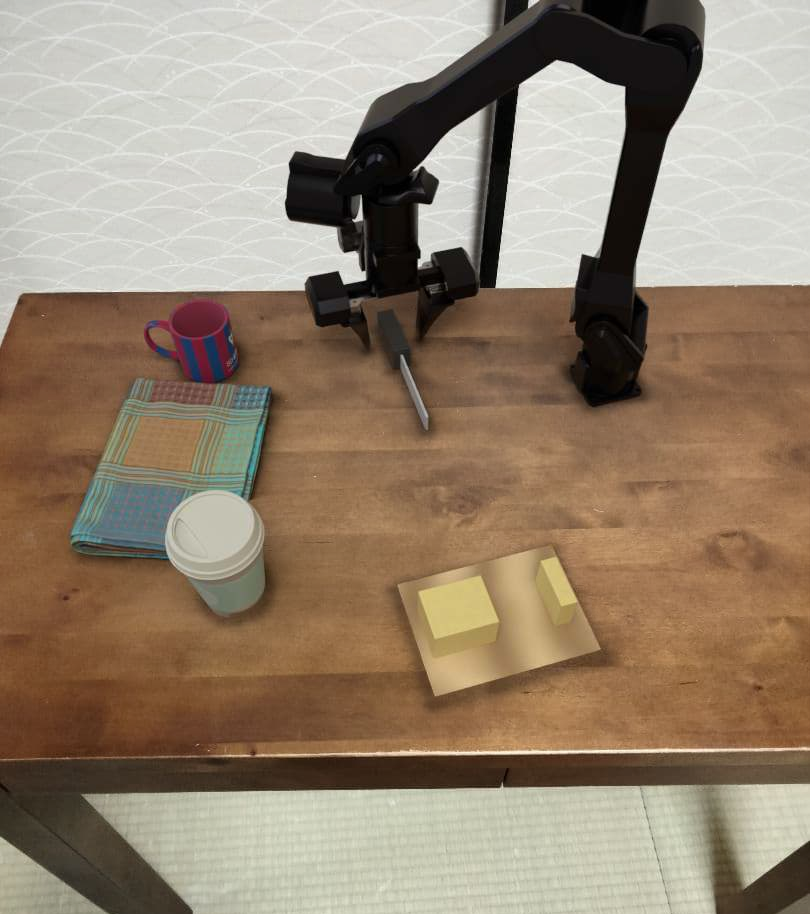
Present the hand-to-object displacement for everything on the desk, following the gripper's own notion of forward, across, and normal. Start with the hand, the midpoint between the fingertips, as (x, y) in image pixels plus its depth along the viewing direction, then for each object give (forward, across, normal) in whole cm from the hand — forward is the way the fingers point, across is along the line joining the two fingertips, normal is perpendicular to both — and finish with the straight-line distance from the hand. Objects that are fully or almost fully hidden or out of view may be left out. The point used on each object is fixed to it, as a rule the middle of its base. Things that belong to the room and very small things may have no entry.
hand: (393, 343), depth 97 cm
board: (+1, +1, +38) cm, 39 cm away
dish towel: (+1, +27, +11) cm, 29 cm away
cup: (+1, +23, -4) cm, 23 cm away
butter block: (-1, +5, +38) cm, 39 cm away
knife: (+1, 0, +5) cm, 5 cm away
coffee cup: (+1, +24, +28) cm, 37 cm away
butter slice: (-1, -5, +39) cm, 39 cm away
